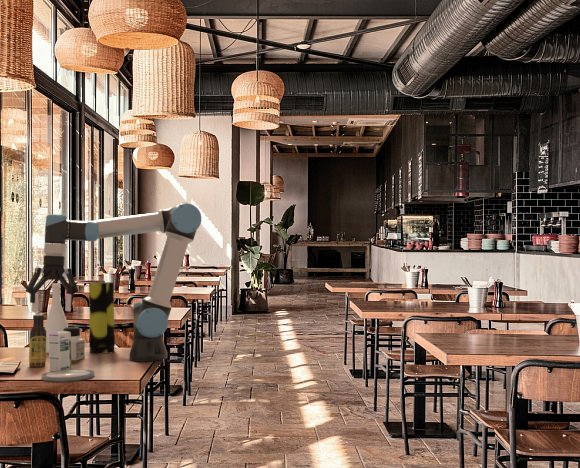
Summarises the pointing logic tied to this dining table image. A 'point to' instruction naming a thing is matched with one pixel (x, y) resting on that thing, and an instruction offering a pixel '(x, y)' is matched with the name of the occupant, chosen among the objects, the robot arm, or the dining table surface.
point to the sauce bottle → (37, 343)
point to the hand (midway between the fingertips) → (51, 311)
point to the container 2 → (101, 317)
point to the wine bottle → (55, 315)
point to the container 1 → (76, 343)
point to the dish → (67, 375)
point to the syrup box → (60, 350)
